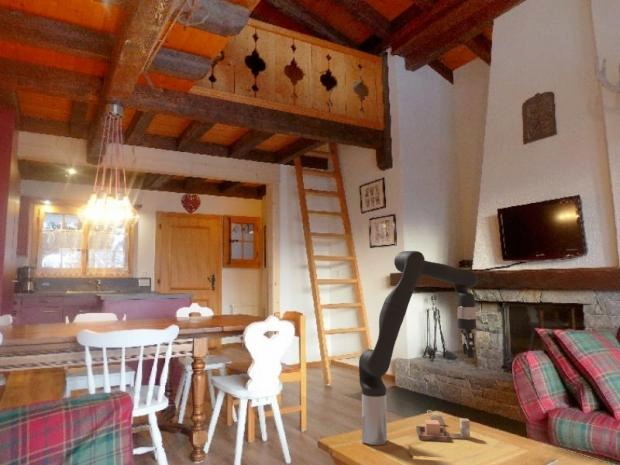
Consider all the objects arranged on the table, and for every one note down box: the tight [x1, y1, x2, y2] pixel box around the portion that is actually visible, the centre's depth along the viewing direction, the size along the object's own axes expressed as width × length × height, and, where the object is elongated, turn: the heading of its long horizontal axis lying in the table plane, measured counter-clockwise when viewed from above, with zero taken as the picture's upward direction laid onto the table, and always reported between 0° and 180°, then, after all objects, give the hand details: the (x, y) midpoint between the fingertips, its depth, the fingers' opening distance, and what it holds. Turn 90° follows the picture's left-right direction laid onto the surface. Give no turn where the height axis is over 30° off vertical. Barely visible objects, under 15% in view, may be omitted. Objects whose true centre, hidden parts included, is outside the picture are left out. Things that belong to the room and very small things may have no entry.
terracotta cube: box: [424, 419, 441, 436], centre depth 166 cm, size 5×5×5 cm
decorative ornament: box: [426, 409, 446, 427], centre depth 181 cm, size 4×8×5 cm, turn 25°
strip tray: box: [415, 417, 472, 443], centre depth 166 cm, size 19×11×7 cm, turn 82°
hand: (468, 356), depth 185 cm, fingers open, 8 cm apart
